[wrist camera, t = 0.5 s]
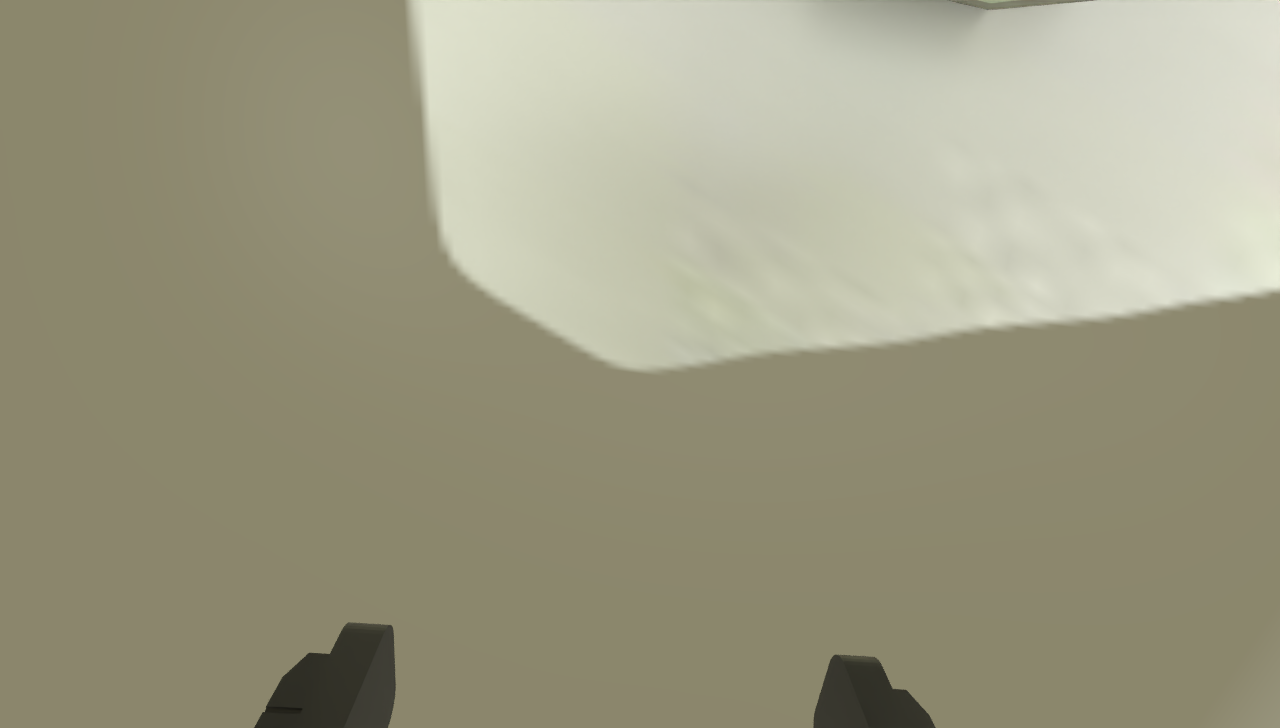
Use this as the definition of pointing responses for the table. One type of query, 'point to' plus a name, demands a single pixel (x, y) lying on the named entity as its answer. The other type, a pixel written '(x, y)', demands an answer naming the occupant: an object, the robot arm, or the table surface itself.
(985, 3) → the tall grey pillar block
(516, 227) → the table surface
